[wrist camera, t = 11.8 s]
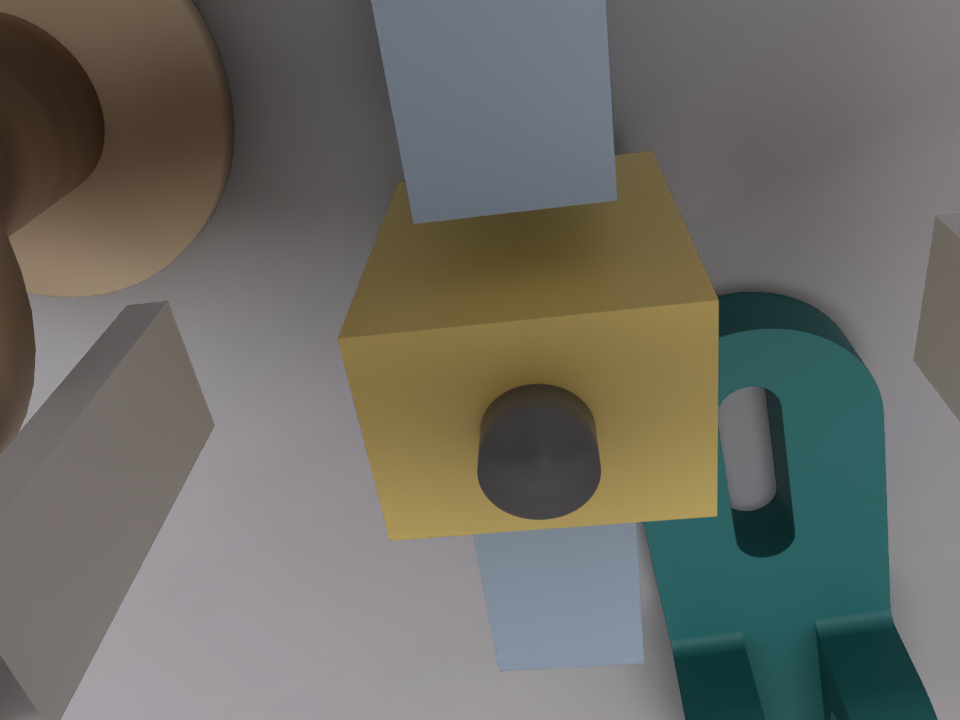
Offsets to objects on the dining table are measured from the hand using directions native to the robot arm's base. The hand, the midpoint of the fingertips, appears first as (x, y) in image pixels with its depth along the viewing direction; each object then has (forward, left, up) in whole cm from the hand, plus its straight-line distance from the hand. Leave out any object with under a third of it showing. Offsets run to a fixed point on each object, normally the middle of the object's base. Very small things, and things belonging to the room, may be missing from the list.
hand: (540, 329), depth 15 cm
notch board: (0, 0, -8) cm, 8 cm away
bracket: (+13, +6, -8) cm, 16 cm away
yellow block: (+1, 0, -5) cm, 5 cm away
